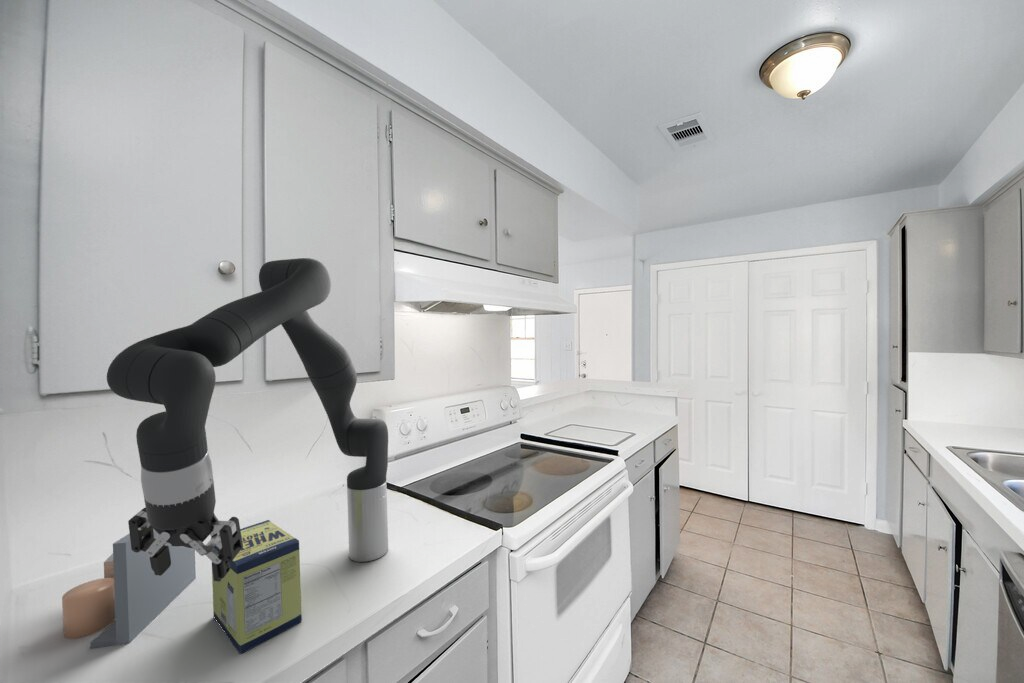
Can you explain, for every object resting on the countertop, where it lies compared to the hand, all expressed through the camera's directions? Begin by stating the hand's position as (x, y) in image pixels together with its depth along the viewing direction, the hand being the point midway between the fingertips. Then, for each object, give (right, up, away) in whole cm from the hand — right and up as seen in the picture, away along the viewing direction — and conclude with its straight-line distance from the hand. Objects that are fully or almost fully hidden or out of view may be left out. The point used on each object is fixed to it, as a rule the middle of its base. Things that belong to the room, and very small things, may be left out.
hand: (192, 573), depth 62 cm
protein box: (-1, -18, +17) cm, 25 cm away
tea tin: (-33, -19, +25) cm, 46 cm away
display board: (-25, -19, +20) cm, 37 cm away
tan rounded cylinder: (-32, -19, +16) cm, 40 cm away
